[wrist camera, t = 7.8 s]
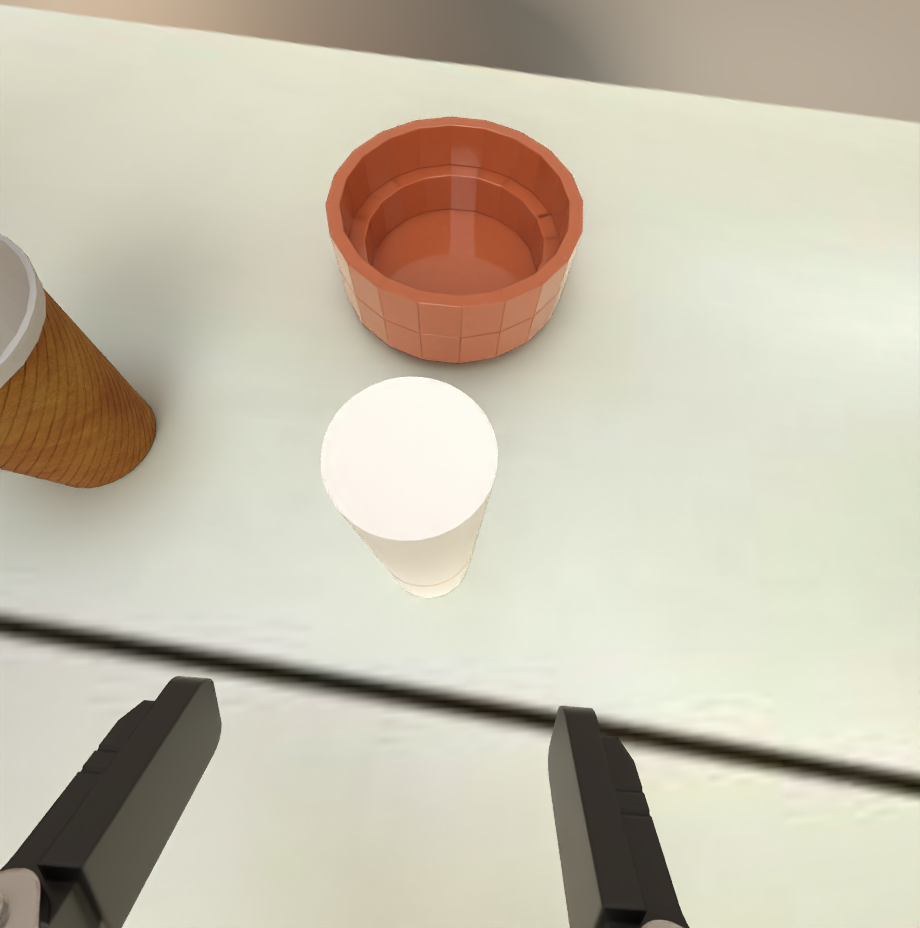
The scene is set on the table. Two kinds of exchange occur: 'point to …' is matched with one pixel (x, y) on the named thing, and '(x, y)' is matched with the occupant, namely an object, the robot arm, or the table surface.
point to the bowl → (454, 236)
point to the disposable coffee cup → (60, 391)
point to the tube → (413, 477)
